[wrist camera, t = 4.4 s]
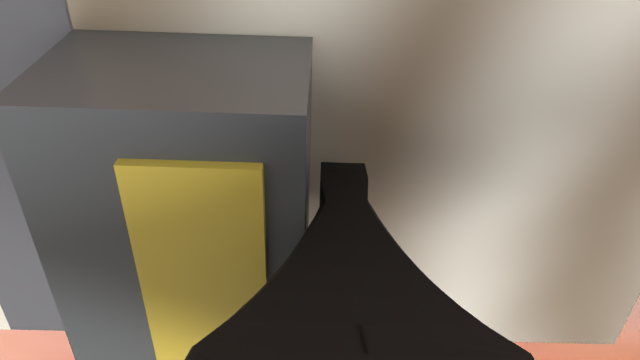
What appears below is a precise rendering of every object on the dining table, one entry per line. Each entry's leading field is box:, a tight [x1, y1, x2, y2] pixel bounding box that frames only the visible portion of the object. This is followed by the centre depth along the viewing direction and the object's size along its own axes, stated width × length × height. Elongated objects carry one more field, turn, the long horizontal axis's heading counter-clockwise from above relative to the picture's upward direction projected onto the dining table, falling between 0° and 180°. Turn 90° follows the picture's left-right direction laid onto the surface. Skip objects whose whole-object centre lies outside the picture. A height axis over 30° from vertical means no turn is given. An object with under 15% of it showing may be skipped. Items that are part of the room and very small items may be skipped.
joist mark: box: [0, 0, 73, 331], centre depth 14 cm, size 4×12×1 cm, turn 178°
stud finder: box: [0, 29, 313, 360], centre depth 12 cm, size 5×7×4 cm
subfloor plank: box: [0, 0, 640, 344], centre depth 14 cm, size 24×12×1 cm, turn 88°
